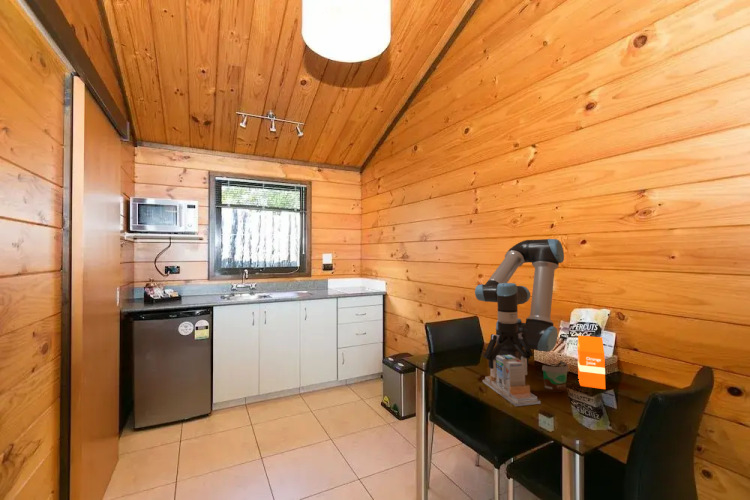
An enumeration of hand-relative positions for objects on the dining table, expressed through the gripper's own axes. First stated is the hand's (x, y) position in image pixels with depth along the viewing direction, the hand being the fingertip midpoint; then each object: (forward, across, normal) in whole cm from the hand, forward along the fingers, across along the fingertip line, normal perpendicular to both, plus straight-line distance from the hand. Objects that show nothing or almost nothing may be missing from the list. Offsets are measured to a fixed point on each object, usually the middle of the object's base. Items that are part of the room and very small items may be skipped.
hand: (508, 375), depth 132 cm
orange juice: (+7, +38, 0) cm, 39 cm away
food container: (+7, +21, -2) cm, 22 cm away
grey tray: (+7, 0, 0) cm, 7 cm away
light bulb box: (+4, +1, 0) cm, 4 cm away
